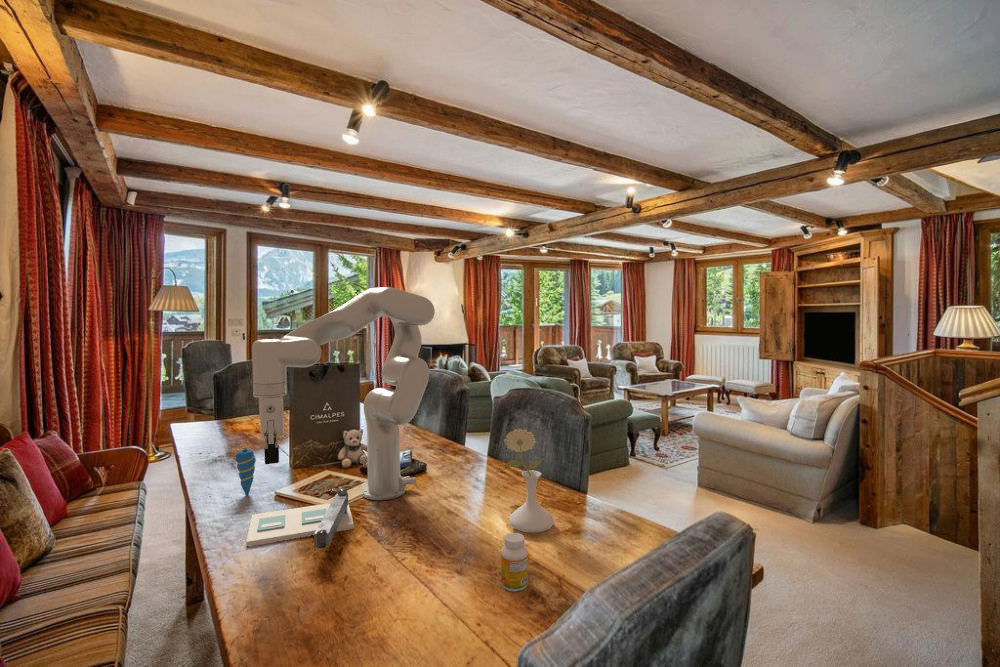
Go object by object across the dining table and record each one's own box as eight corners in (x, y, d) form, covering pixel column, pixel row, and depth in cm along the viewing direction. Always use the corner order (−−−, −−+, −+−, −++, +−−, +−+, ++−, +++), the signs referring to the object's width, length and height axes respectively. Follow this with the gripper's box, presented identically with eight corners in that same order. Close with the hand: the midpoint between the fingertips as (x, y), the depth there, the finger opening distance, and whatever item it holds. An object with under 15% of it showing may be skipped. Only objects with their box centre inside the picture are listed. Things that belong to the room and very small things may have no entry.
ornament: (247, 499, 139) (246, 448, 138) (232, 497, 140) (231, 447, 139) (260, 492, 144) (259, 443, 143) (245, 491, 145) (244, 442, 144)
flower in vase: (558, 520, 125) (558, 426, 124) (548, 540, 114) (548, 437, 113) (510, 513, 129) (510, 422, 128) (496, 532, 118) (496, 432, 117)
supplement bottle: (499, 577, 98) (499, 531, 98) (525, 576, 99) (525, 530, 98) (502, 593, 93) (502, 544, 92) (529, 591, 93) (529, 543, 93)
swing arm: (337, 510, 128) (337, 488, 127) (349, 509, 128) (348, 487, 128) (314, 557, 103) (313, 530, 103) (328, 556, 104) (327, 529, 103)
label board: (347, 504, 135) (347, 498, 135) (353, 528, 120) (353, 521, 120) (252, 519, 126) (252, 512, 125) (246, 546, 111) (246, 539, 111)
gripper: (287, 393, 113) (289, 469, 113) (286, 384, 126) (287, 452, 127) (251, 395, 109) (253, 474, 110) (254, 386, 123) (256, 456, 124)
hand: (272, 462), depth 119 cm, fingers closed
